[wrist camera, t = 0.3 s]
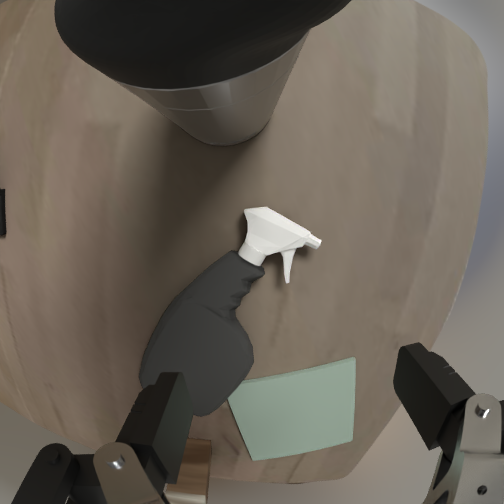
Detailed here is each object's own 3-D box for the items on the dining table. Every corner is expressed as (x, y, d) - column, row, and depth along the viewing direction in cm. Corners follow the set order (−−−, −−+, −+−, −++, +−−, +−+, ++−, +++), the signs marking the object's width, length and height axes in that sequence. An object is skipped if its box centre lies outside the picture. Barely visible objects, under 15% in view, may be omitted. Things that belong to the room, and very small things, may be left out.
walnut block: (177, 436, 34) (165, 494, 23) (210, 440, 34) (204, 500, 24) (180, 450, 35) (170, 504, 24) (211, 453, 35) (206, 509, 25)
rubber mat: (223, 383, 31) (222, 386, 30) (353, 356, 31) (355, 359, 30) (252, 457, 36) (252, 460, 35) (351, 437, 35) (352, 440, 35)
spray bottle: (137, 369, 30) (232, 185, 26) (214, 409, 31) (330, 244, 27) (128, 383, 28) (229, 184, 23) (211, 425, 29) (339, 250, 24)
